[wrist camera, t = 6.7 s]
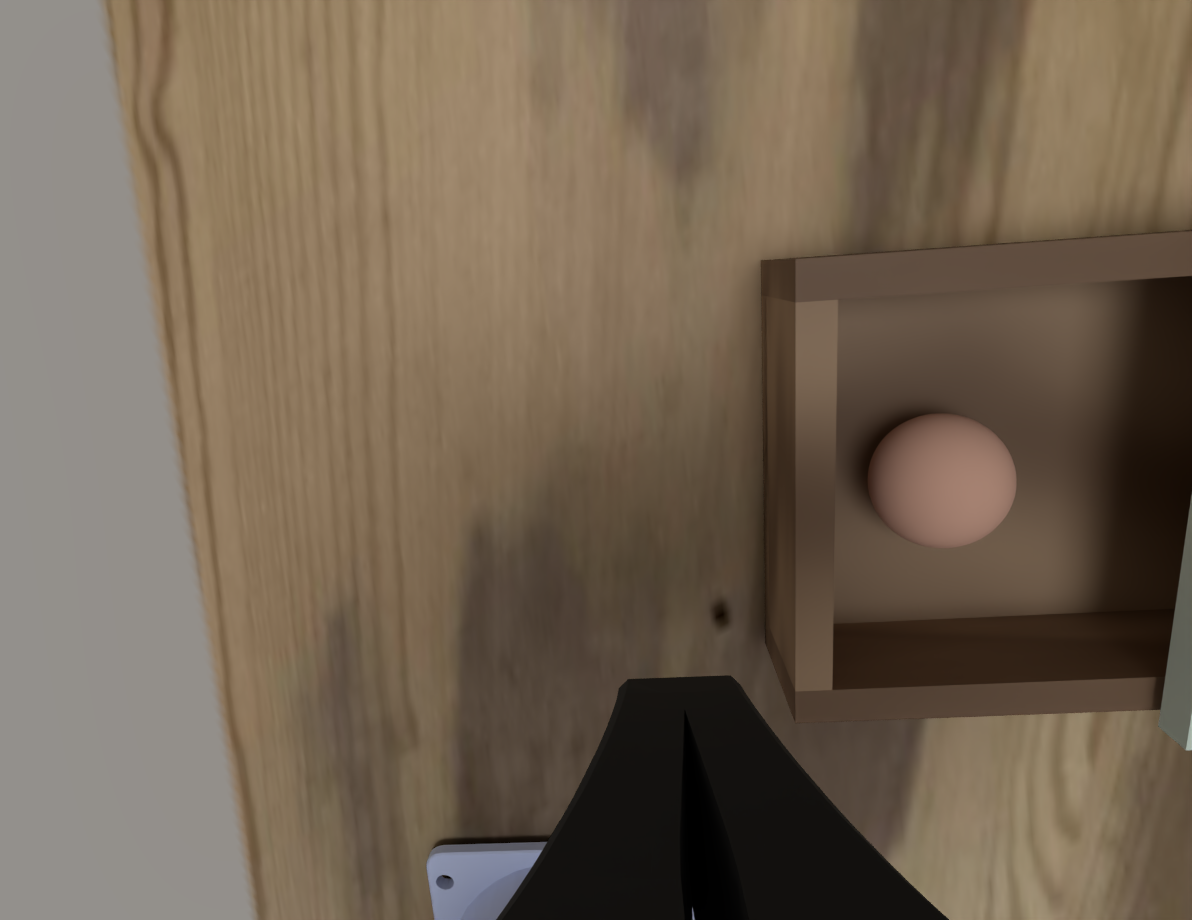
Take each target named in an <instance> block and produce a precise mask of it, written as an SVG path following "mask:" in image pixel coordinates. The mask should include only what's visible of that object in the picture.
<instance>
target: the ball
mask: <svg viewBox="0 0 1192 920" xmlns="http://www.w3.org/2000/svg"><path fill="white" fill-rule="evenodd" d="M1016 482H1017V479H1016V470H1015V466H1014V462H1013V460H1012V457H1011V455H1010V453H1009V451H1008V449H1007V448H1006V446H1005V445H1004V443H1003V442H1002V441H1001V440H1000V439H999V438H998V436H997V435H996V434H995V433H994V432H992V431H991V430H990V429H989V428H987V427H985V426H984V425H982V424H980V423H979V422H977V421H975V420H972V419H970V418H967V417H963V416H960V415H955V414H948V413H935V414H927V415H923V416H919V417H916V418H913V419H910V420H908V421H906V422H904V423H902V424H900V425H899V426H897V427H896V428H894V429H893V430H892V431H891V432H889V433H888V434H887V435H886V436H885V437H884V438H883V440H882V441H881V442H880V443H879V445H878V446H877V448H876V450H875V452H874V453H873V456H872V458H871V461H870V465H869V469H868V491H869V495H870V498H871V501H872V504H873V507H874V508H875V510H876V512H877V514H878V515H879V517H880V518H881V519H882V521H883V522H884V523H885V524H886V525H887V526H888V527H889V528H890V529H891V530H892V531H894V532H895V533H896V534H898V535H899V536H901V537H902V538H904V539H906V540H908V541H911V542H913V543H916V544H918V545H922V546H926V547H932V548H954V547H960V546H964V545H968V544H970V543H973V542H976V541H978V540H980V539H982V538H983V537H985V536H986V535H988V534H989V533H991V532H992V531H993V530H994V529H995V528H996V527H997V526H998V525H999V524H1000V523H1001V522H1002V521H1003V520H1004V518H1005V517H1006V515H1007V514H1008V512H1009V510H1010V508H1011V506H1012V504H1013V501H1014V498H1015V494H1016Z"/></svg>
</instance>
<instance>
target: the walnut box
mask: <svg viewBox="0 0 1192 920" xmlns="http://www.w3.org/2000/svg"><path fill="white" fill-rule="evenodd" d="M761 294H762V383H763V472H764V561H765V643H766V646H767V649H768V651H769V654H770V657H771V659H772V662H773V665H774V667H775V670H776V673H777V675H778V678H779V681H780V683H781V686H782V689H783V691H784V694H785V697H786V699H787V702H788V705H789V707H790V710H791V713H792V715H793V718H794V721H795V723H816V722H843V721H869V720H896V719H923V718H950V717H976V716H1003V715H1030V714H1056V713H1083V712H1110V711H1137V710H1161V704H1162V697H1163V690H1164V683H1165V676H1166V669H1167V662H1168V655H1169V648H1170V641H1171V634H1172V627H1173V620H1174V613H1175V606H1176V600H1177V593H1178V586H1179V579H1180V572H1181V565H1182V558H1183V551H1184V544H1185V537H1186V530H1187V523H1188V516H1189V509H1190V502H1191V495H1192V230H1185V231H1171V232H1157V233H1143V234H1129V235H1115V236H1100V237H1086V238H1072V239H1058V240H1044V241H1030V242H1016V243H1002V244H987V245H973V246H959V247H945V248H931V249H917V250H903V251H889V252H874V253H860V254H846V255H832V256H818V257H804V258H790V259H775V260H761ZM935 413H948V414H955V415H960V416H963V417H967V418H970V419H972V420H975V421H977V422H979V423H980V424H982V425H984V426H985V427H987V428H989V429H990V430H991V431H992V432H994V433H995V434H996V435H997V436H998V438H999V439H1000V440H1001V441H1002V442H1003V443H1004V445H1005V446H1006V448H1007V449H1008V451H1009V453H1010V455H1011V457H1012V460H1013V462H1014V466H1015V470H1016V479H1017V482H1016V494H1015V498H1014V501H1013V504H1012V506H1011V508H1010V510H1009V512H1008V514H1007V515H1006V517H1005V518H1004V520H1003V521H1002V522H1001V523H1000V524H999V525H998V526H997V527H996V528H995V529H994V530H993V531H992V532H991V533H989V534H988V535H986V536H985V537H983V538H982V539H980V540H978V541H976V542H973V543H970V544H968V545H964V546H960V547H954V548H932V547H926V546H922V545H918V544H916V543H913V542H911V541H908V540H906V539H904V538H902V537H901V536H899V535H898V534H896V533H895V532H894V531H892V530H891V529H890V528H889V527H888V526H887V525H886V524H885V523H884V522H883V521H882V519H881V518H880V517H879V515H878V514H877V512H876V510H875V508H874V507H873V504H872V501H871V498H870V495H869V491H868V469H869V465H870V461H871V458H872V456H873V453H874V452H875V450H876V448H877V446H878V445H879V443H880V442H881V441H882V440H883V438H884V437H885V436H886V435H887V434H888V433H889V432H891V431H892V430H893V429H894V428H896V427H897V426H899V425H900V424H902V423H904V422H906V421H908V420H910V419H913V418H916V417H919V416H923V415H927V414H935Z"/></svg>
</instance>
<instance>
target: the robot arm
mask: <svg viewBox="0 0 1192 920" xmlns="http://www.w3.org/2000/svg"><path fill="white" fill-rule="evenodd" d="M426 868H427V874H428V881H429V887H430V894H431V900H432V907H433V913H434V920H949V919H948V918H947V917H946V916H944V915H943V914H942V913H941V912H940V911H939V910H938V909H937V908H936V907H934V906H933V905H932V904H931V903H930V902H929V901H928V900H927V899H926V898H925V897H924V896H923V895H922V894H921V893H920V892H918V891H917V890H916V889H915V888H914V887H913V886H912V885H911V884H910V883H909V882H908V881H907V880H906V879H905V878H904V877H903V876H902V875H901V874H900V873H899V872H898V871H897V870H896V869H895V868H894V867H893V866H892V865H891V864H890V863H889V862H888V861H887V860H886V859H885V858H884V857H883V856H882V855H881V854H880V853H879V852H878V851H877V850H876V849H875V848H874V847H873V846H872V845H871V844H870V843H869V842H868V841H867V840H866V839H865V838H864V836H863V835H862V834H861V833H860V832H859V831H858V830H857V829H856V828H855V827H854V826H853V825H852V824H851V823H850V822H849V821H848V820H847V819H846V817H845V816H844V815H843V814H842V813H841V812H840V811H839V810H838V809H837V808H836V806H835V805H834V804H833V803H832V802H831V801H830V800H829V799H828V797H827V796H826V795H825V794H824V793H823V792H822V790H821V789H820V788H819V787H818V786H817V785H816V783H815V782H814V781H813V780H812V779H811V778H810V776H809V775H808V774H807V773H806V772H805V771H804V769H803V768H802V767H801V766H800V765H799V764H798V762H797V761H796V760H795V759H794V758H793V756H792V755H791V754H790V753H789V751H788V750H787V749H786V748H785V746H784V745H783V744H782V743H781V741H780V740H779V739H778V737H777V736H776V735H775V733H774V732H773V731H772V729H771V728H770V727H769V726H768V724H767V723H766V722H765V720H764V719H763V717H762V716H761V715H760V713H759V712H758V711H757V709H756V708H755V706H754V705H753V704H752V702H751V701H750V699H749V698H748V696H747V695H746V693H745V692H744V690H743V689H742V687H741V685H740V684H739V683H738V682H737V681H736V680H735V679H734V678H733V677H731V676H703V677H676V678H649V679H628V680H627V681H626V682H625V683H624V684H623V685H622V686H621V687H620V688H619V691H618V696H617V700H616V703H615V706H614V709H613V712H612V715H611V718H610V721H609V723H608V726H607V728H606V730H605V733H604V735H603V737H602V740H601V742H600V744H599V747H598V749H597V751H596V753H595V755H594V757H593V759H592V761H591V763H590V765H589V767H588V769H587V771H586V773H585V775H584V777H583V779H582V781H581V783H580V785H579V787H578V789H577V791H576V793H575V795H574V797H573V799H572V801H571V802H570V804H569V806H568V808H567V810H566V811H565V813H564V815H563V816H562V818H561V820H560V821H559V823H558V825H557V826H556V828H555V830H554V831H553V833H552V835H551V836H550V838H549V840H548V842H527V843H493V844H459V845H441V846H437V847H435V848H434V849H432V851H431V852H430V854H429V857H428V860H427V867H426ZM441 875H447V876H450V877H451V879H447V878H444V877H442V876H441Z"/></svg>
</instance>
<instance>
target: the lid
mask: <svg viewBox="0 0 1192 920" xmlns="http://www.w3.org/2000/svg"><path fill="white" fill-rule="evenodd" d="M1158 727H1160V728H1161V729H1162V730H1163V731H1164V732H1165V733H1166V734H1168V735H1169V736H1170V737H1171V738H1172V739H1173V740H1175V741H1176V742H1177V743H1178V744H1179V745H1180V746H1182V747H1183V748H1184V749H1185V750H1192V495H1191V502H1190V509H1189V516H1188V523H1187V530H1186V537H1185V544H1184V551H1183V558H1182V565H1181V572H1180V579H1179V586H1178V593H1177V600H1176V606H1175V613H1174V620H1173V627H1172V634H1171V641H1170V648H1169V655H1168V662H1167V669H1166V676H1165V683H1164V690H1163V697H1162V704H1161V711H1160V718H1159V725H1158Z"/></svg>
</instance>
